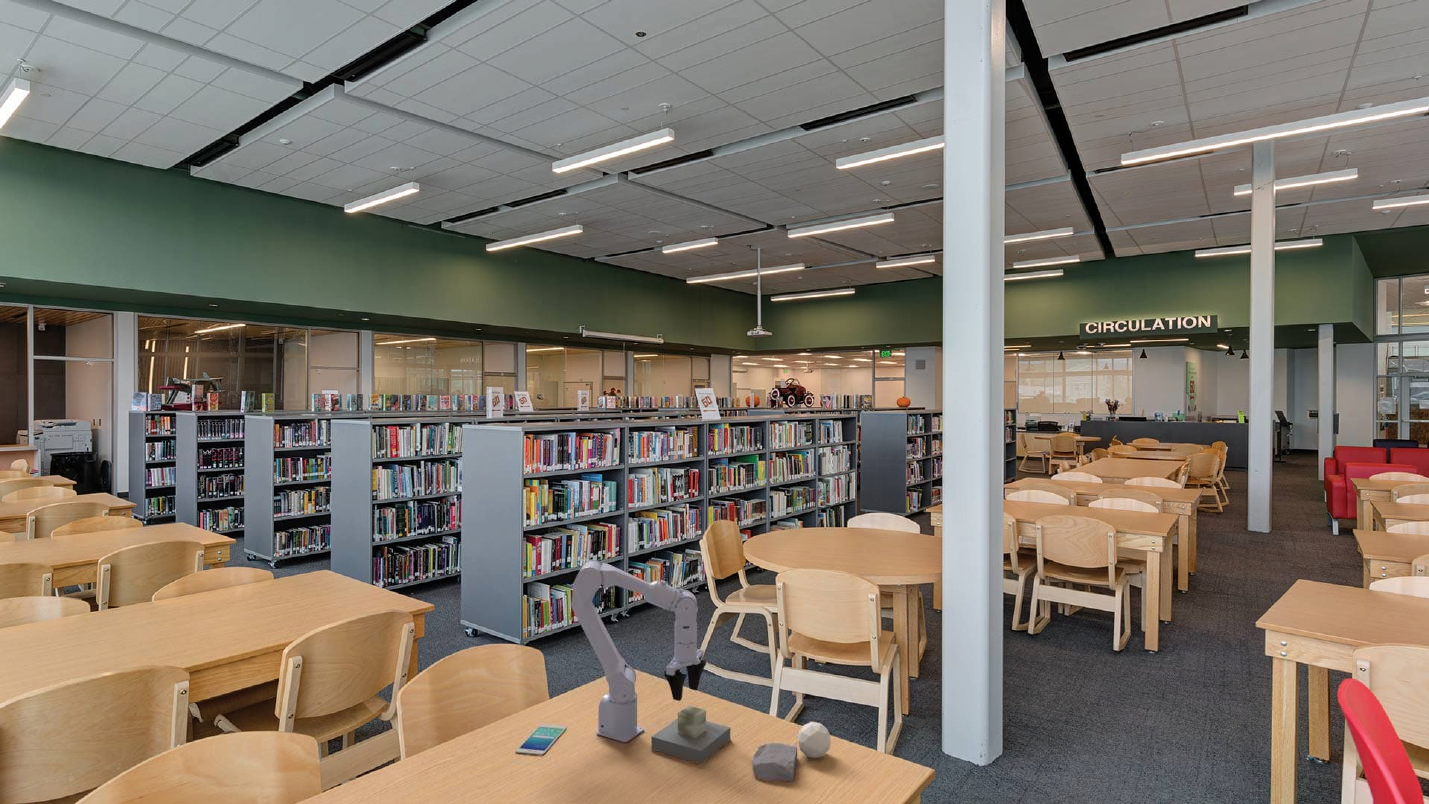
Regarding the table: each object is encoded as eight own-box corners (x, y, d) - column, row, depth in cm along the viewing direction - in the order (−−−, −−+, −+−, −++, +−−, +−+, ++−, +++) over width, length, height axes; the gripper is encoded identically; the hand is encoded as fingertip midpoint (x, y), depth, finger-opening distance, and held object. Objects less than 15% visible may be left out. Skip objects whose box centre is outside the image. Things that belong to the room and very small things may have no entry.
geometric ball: (805, 768, 167) (785, 738, 168) (825, 745, 172) (805, 717, 173) (823, 764, 161) (802, 733, 163) (843, 741, 166) (822, 711, 168)
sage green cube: (677, 733, 172) (677, 713, 172) (688, 725, 176) (688, 705, 176) (695, 738, 169) (695, 717, 169) (705, 730, 174) (706, 710, 174)
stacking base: (651, 749, 170) (651, 736, 170) (683, 726, 182) (683, 714, 182) (700, 764, 163) (700, 751, 163) (730, 739, 175) (730, 727, 175)
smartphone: (567, 726, 181) (543, 754, 167) (567, 729, 181) (543, 757, 167) (540, 723, 183) (514, 751, 168) (540, 727, 183) (514, 754, 168)
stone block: (752, 788, 157) (796, 783, 155) (748, 766, 157) (792, 761, 155) (759, 763, 168) (800, 758, 167) (755, 743, 169) (796, 738, 167)
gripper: (683, 652, 171) (683, 708, 171) (713, 635, 184) (713, 687, 184) (659, 647, 175) (659, 702, 175) (690, 631, 187) (690, 682, 187)
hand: (685, 694), depth 180 cm, fingers open, 7 cm apart
